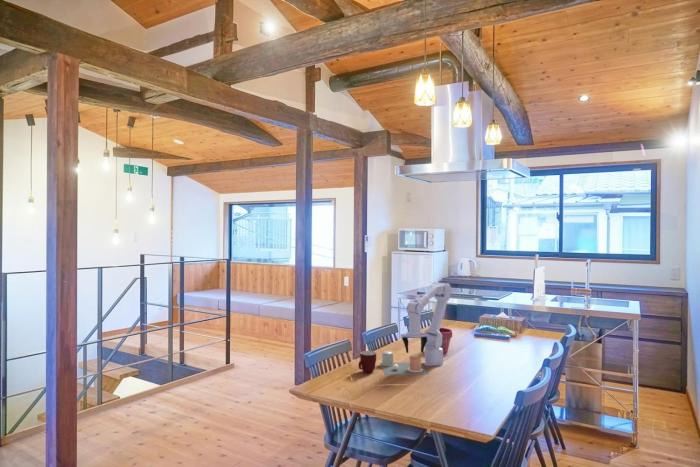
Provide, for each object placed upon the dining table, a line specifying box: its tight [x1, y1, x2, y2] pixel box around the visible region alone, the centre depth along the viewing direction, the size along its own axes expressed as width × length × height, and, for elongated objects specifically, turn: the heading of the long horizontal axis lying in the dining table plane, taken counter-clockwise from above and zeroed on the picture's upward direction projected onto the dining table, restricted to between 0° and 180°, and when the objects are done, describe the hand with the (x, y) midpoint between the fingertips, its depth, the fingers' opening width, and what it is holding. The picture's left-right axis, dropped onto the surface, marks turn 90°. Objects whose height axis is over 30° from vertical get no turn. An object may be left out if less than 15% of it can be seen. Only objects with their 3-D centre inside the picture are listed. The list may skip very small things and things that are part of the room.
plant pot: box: [439, 327, 453, 354], centre depth 266 cm, size 14×14×13 cm
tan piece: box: [408, 354, 422, 371], centre depth 229 cm, size 6×6×6 cm
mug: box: [358, 350, 377, 374], centre depth 225 cm, size 11×8×10 cm
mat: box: [379, 362, 430, 376], centre depth 231 cm, size 22×20×1 cm
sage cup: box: [381, 350, 394, 366], centre depth 237 cm, size 6×6×6 cm
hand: (414, 352), depth 230 cm, fingers open, 7 cm apart
